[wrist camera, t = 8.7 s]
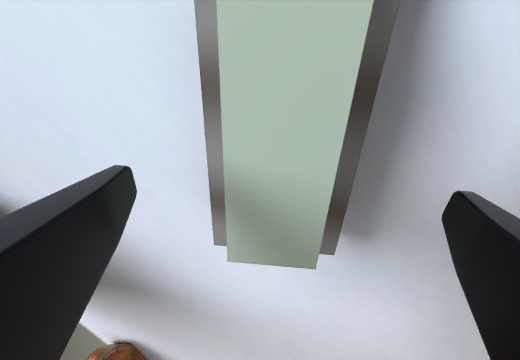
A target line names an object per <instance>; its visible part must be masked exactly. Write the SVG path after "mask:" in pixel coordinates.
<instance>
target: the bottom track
mask: <svg viewBox="0 0 520 360" xmlns="http://www.w3.org/2000/svg"><path fill="white" fill-rule="evenodd" d="M399 2H400V0H374V1H373V6H372V11H371V15H370V20H369V24H368V29H367V34H366V38H365V43H364V48H363V52H362V57H361V61H360V66H359V71H358V75H357V80H356V84H355V89H354V94H353V98H352V103H351V108H350V112H349V117H348V121H347V126H346V131H345V135H344V140H343V144H342V149H341V154H340V158H339V163H338V168H337V172H336V177H335V181H334V186H333V191H332V195H331V200H330V204H329V209H328V214H327V218H326V223H325V228H324V232H323V237H322V241H321V246H320V251H319V254H327V255H334V254H335V250H336V246H337V242H338V238H339V235H340V231H341V227H342V223H343V219H344V215H345V211H346V207H347V204H348V200H349V196H350V192H351V188H352V184H353V180H354V176H355V173H356V169H357V165H358V161H359V157H360V153H361V149H362V145H363V142H364V138H365V134H366V130H367V126H368V122H369V118H370V114H371V111H372V107H373V103H374V99H375V95H376V91H377V87H378V83H379V80H380V76H381V72H382V68H383V64H384V60H385V56H386V52H387V49H388V45H389V41H390V37H391V33H392V29H393V25H394V21H395V18H396V14H397V10H398V6H399ZM194 4H195V16H196V28H197V41H198V53H199V65H200V78H201V90H202V102H203V114H204V127H205V139H206V151H207V164H208V176H209V188H210V201H211V213H212V225H213V238H214V245H219V246H227V237H226V213H225V190H224V167H223V143H222V120H221V97H220V73H219V50H218V27H217V4H216V0H194Z"/></svg>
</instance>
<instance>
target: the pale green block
mask: <svg viewBox="0 0 520 360" xmlns="http://www.w3.org/2000/svg"><path fill="white" fill-rule="evenodd" d="M373 1H374V0H216V4H217V27H218V50H219V73H220V97H221V120H222V143H223V167H224V190H225V213H226V237H227V260H228V262H238V263H250V264H261V265H272V266H284V267H295V268H307V269H316V264H317V260H318V255H319V251H320V246H321V241H322V237H323V232H324V228H325V223H326V218H327V214H328V209H329V204H330V200H331V195H332V191H333V186H334V181H335V177H336V172H337V168H338V163H339V158H340V154H341V149H342V144H343V140H344V135H345V131H346V126H347V121H348V117H349V112H350V108H351V103H352V98H353V94H354V89H355V84H356V80H357V75H358V71H359V66H360V61H361V57H362V52H363V48H364V43H365V38H366V34H367V29H368V24H369V20H370V15H371V11H372V6H373Z"/></svg>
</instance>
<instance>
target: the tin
mask: <svg viewBox="0 0 520 360" xmlns="http://www.w3.org/2000/svg"><path fill="white" fill-rule="evenodd" d="M86 360H147V359H146V358H145V357H144V356H143V355H141V354H140V353H139V352H138V351H137V350H136V349H135V348H134V347H133V346H132V345H130V344H111V345H105V346H102V347H100V348H98V349H96V350H95V351H94V352H93V353H91V354H90V355H89V356H88V358H87V359H86Z"/></svg>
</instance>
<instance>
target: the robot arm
mask: <svg viewBox="0 0 520 360" xmlns="http://www.w3.org/2000/svg"><path fill="white" fill-rule="evenodd" d="M136 194H137V189H136V185H135V181H134V177H133V173H132V170H131V168H130V167H128V166H121V165H114V166H112V167H109V168H107V169H105V170H103V171H101V172H99V173H96V174H94V175H92V176H90V177H88V178H86V179H83V180H81V181H79V182H77V183H75V184H73V185H70V186H68V187H66V188H64V189H62V190H60V191H57V192H55V193H53V194H51V195H49V196H47V197H44V198H42V199H40V200H38V201H36V202H34V203H31V204H29V205H27V206H25V207H23V208H21V209H18V210H16V211H14V212H12V213H10V214H8V215H5V216H3V217H1V218H0V360H60V358H61V356H62V354H63V352H64V350H65V348H66V346H67V344H68V342H69V340H70V338H71V336H72V334H73V332H74V330H75V328H76V327H77V324H78V323H79V321H80V319H81V317H82V315H83V313H84V311H85V309H86V307H87V305H88V303H89V301H90V299H91V297H92V295H93V293H94V291H95V289H96V287H97V285H98V283H99V281H100V279H101V277H102V275H103V273H104V271H105V269H106V267H107V265H108V263H109V261H110V259H111V257H112V256H113V254H114V252H115V250H116V248H117V245H118V243H119V241H120V239H121V236H122V234H123V231H124V228H125V226H126V223H127V220H128V218H129V215H130V212H131V209H132V207H133V204H134V201H135V198H136ZM442 223H443V227H444V230H445V234H446V238H447V242H448V245H449V249H450V253H451V257H452V260H453V264H454V267H455V270H456V273H457V276H458V279H459V281H460V284H461V286H462V289H463V291H464V294H465V297H466V299H467V302H468V304H469V307H470V309H471V312H472V314H473V317H474V319H475V322H476V324H477V327H478V329H479V332H480V335H481V337H482V340H483V342H484V345H485V347H486V350H487V352H488V355H489V357H490V360H520V219H519V218H517V217H516V216H514V215H512V214H510V213H509V212H507V211H505V210H504V209H502V208H500V207H498V206H497V205H495V204H493V203H491V202H490V201H488V200H486V199H484V198H483V197H481V196H479V195H477V194H476V193H474V192H468V191H456V192H454V193H453V195H452V196H451V198H450V200H449V202H448V204H447V206H446V208H445V210H444V212H443V215H442Z"/></svg>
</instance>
